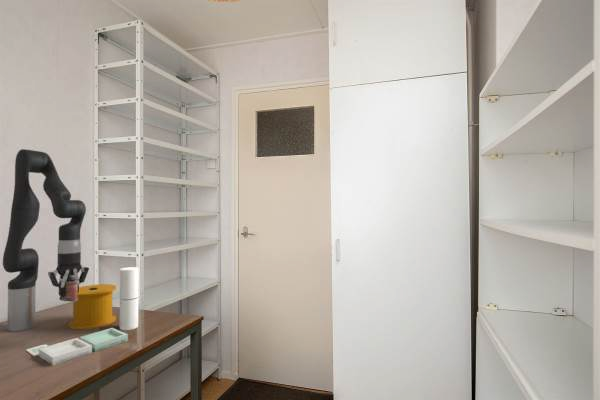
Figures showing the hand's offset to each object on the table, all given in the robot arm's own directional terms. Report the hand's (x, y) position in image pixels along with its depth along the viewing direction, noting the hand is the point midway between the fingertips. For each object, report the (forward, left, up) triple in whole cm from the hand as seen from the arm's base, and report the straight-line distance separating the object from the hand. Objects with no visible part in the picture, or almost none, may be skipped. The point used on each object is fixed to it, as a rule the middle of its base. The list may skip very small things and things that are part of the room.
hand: (68, 295), depth 135 cm
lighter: (0, 0, -2) cm, 2 cm away
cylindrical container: (+6, +21, -17) cm, 28 cm away
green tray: (+14, +7, -17) cm, 23 cm away
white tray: (+14, -6, -17) cm, 23 cm away
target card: (+3, -10, -17) cm, 20 cm away
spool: (-13, +15, -17) cm, 26 cm away
